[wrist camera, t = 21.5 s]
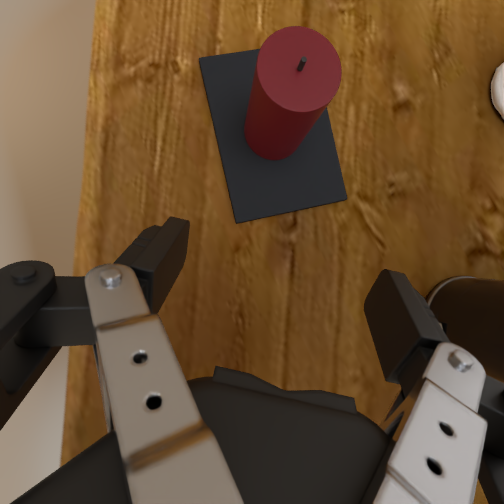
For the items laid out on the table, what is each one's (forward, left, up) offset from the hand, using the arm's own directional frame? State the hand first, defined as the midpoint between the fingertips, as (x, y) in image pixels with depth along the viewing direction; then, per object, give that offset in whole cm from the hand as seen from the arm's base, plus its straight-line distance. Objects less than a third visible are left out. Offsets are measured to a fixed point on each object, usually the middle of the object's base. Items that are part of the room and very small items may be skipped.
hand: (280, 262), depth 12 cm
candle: (-6, -12, -18) cm, 22 cm away
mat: (-6, -12, -18) cm, 23 cm away
